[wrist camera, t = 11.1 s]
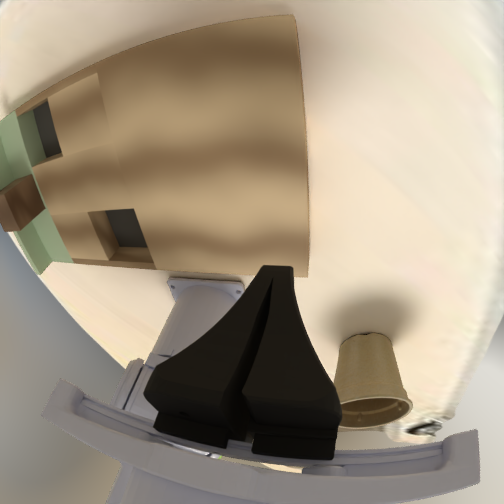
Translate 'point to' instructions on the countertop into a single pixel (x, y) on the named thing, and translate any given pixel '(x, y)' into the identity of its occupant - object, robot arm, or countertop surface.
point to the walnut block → (20, 203)
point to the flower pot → (369, 383)
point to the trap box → (171, 155)
